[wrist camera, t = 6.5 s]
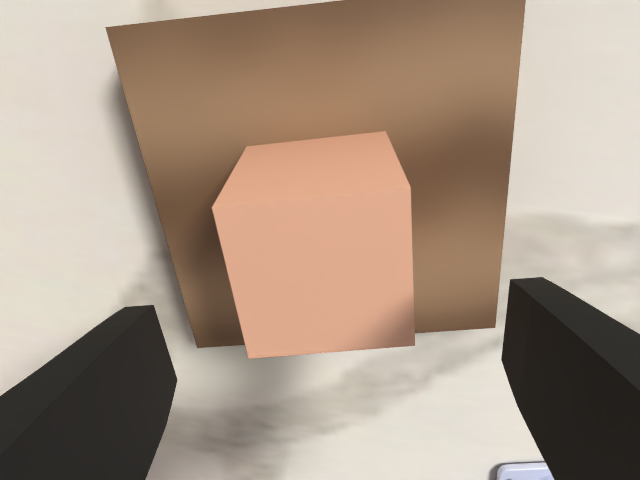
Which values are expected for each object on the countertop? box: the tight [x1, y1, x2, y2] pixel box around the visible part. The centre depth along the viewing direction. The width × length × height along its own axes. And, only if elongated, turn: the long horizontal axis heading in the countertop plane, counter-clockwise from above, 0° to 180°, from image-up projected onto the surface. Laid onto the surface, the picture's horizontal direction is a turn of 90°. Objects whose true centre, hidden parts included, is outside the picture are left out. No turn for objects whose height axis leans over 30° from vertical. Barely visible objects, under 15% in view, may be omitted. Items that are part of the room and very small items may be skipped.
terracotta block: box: [212, 131, 415, 359], centre depth 14 cm, size 4×4×5 cm
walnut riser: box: [105, 0, 526, 348], centre depth 17 cm, size 12×12×4 cm
